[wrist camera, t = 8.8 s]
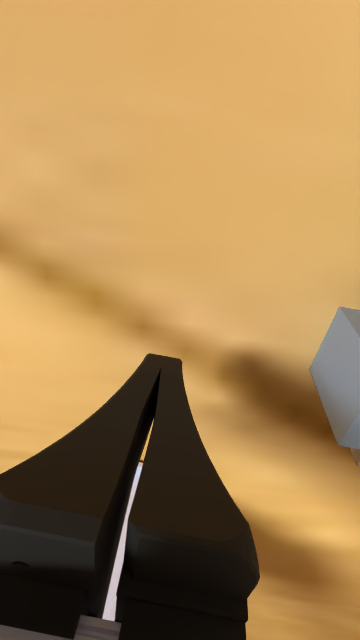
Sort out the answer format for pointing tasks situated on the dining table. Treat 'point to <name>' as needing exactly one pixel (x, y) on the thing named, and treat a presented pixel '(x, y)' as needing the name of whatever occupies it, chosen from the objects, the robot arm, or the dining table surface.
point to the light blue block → (340, 376)
